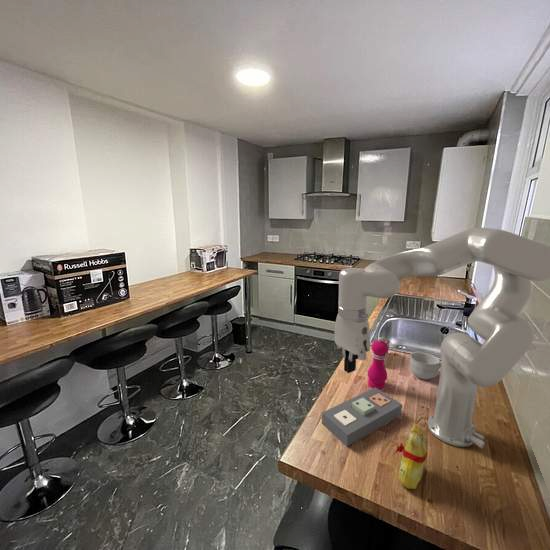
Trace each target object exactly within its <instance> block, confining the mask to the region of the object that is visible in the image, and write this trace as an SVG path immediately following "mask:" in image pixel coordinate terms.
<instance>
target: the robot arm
mask: <svg viewBox="0 0 550 550" xmlns="http://www.w3.org/2000/svg"><path fill="white" fill-rule="evenodd" d="M476 262H480V263H483V264H487V265H490V266H492V267H493V269H494V281H493V284H491V287H490V289H489V290H488V291H487V293H486V294H485V296H484V297H483V298H482V299H481V301H480V302H479V303H478V305H477V306H476V307H475V308H474V309H473V310H472V312H471V313H470V314H469V316H468V318H467V325H468V328H469V329H470V330H471V331H472V332H473V333H474V334H475V335H476V336H478V337H480V338H481V339H483V340H485V341H484V342H483V343H482V342H480V341H478V340H477V339H475V338H474V337H473V336H472V335H471V336H470V335H469V334H466V333H463V332H453V333H450V334H447V336H445V337H444V338H443V340H442V341H441V344H440V350H439V353H440V363H441V367H440V372H441V373H440V375H439V381H438V388H437V396H436V401H435V408H434V414H432V415H431V416H429V418H428V419H427V427H428V429H429V431H430V432H431V434H432V435H433V436H435V437H436V438H437V439H438V440H441V442H444V443H446V444H448V445H450V446H454V447H462V448H463V447H464V448H465V447H466V448H467V447H470V446H472V445H473V444H474V445H476V446H478V447H479V448H480V449H483V448H484V447H485V445H486V441H484V439H485V436H484V435H482V434H480V433H478V432H476V430H475V426H476V425H475V424H473V423H472V421H473V416H474V415H473V414H474V409H475V404H476V398H477V393H478V389H479V388H478V387H481V388H488V387H492V386H495V385H496V384H498V383H499V382H501V381H502V380H503V379H504V378H505V377H506V376H507V375H508V373H510V371H511V370H512V369H513V368H514V366H516V365H517V364H518V363H519V361H520V360H522V359H521V358H523V356H524V355H525V354H526V353H527V352H528V350H530V348H531V346H532V344H533V341H534V336H535V333H534V329H533V327H532V325H531V324H530V322H528V321H527V320H525V319H524V318H523V317H521V316H519V314H520V313H521V312H522V311H523V309H524V307H526V305H527V303H528V302H529V300H530V297H531V293H532V282H531V281H536V282H542V281H548V280H550V245H547V244H544V243H541V242H538V241H536V240H532V239H529V238H528V237H524V236H521V235H519V234H516V233H513V232H510V231H507V230H503V229H498V228H488V227H472V228H468V229H465V230H463V231H460V232H458V233H455V234H453V235H451V236H448V237H446V238H443V239H440V240H439V241H436V242H433V243H432V244H431V243H430V244H428V245H425V246H423V247H418V248H414V249H410V250H407V251H402V252H397V253H394V254H391V255H388V256H385V257H383V258H381V259H378V260H376V261H374V262H371V263H370V264H368V265H367V266H365V268H364V269H362V268H359V267H358V268H357V267H346V268H343V269H342V270H340V272H339V274H338V275H339V276H338V277H339V278H338V311H337V312H338V313H337V314H336V315H337V316H336V319H335V324H334V342H335V345H336V347H337V348H339V349H340V351H341V353H342V358H343V359H344V361H343V362H344V363H343V371H344V372H346V373H347V374H350V373H353V372H355V371H356V370H357V360H362V361H364V360H365V359H367V354H366V352H367V353H368V352H370V351H371V350H370V349H371V332H370V331H371V330H370V325H369V324H370V323H369V319H368V317H369V314H368V313H367V297H371V298H378V299H390V298H393V297H394V296H396V295H397V294H398V293H399V291H400V289H401V287H402V285H401V281H400V279H401V278H406V277H413V276H416V277H417V276H420V277H437V276H438V277H439V276H442V275H444V274H447V273H449V272H452V271H454V270H458V269H460V268H462V267H466V266H467V265H470V264H472V263H476Z"/></svg>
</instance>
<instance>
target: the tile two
mask: <svg viewBox="0 0 550 550" xmlns="http://www.w3.org/2000/svg"><path fill="white" fill-rule="evenodd" d="M352 408H353V409H354V410H356V411H357V412H358V413H359V414H361V415H362V416H363V417H364V416H366V415H368V414H370V413H372V412H374V410H375V406H374V405H373V404H371V403H370V402H368V401H367V400H366V399H364V398H361V399H359V400H357V401H355V402H353V403H352Z"/></svg>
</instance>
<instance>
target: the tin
mask: <svg viewBox="0 0 550 550" xmlns="http://www.w3.org/2000/svg"><path fill="white" fill-rule="evenodd" d="M383 341H384V342H385V343H386V344H387V345H388V352H389V349H390V343H391V342H390V340H389V339H386V338H383ZM388 352H387V353H386V356H387V355H388V354H389V353H388Z"/></svg>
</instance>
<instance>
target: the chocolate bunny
mask: <svg viewBox="0 0 550 550" xmlns="http://www.w3.org/2000/svg"><path fill="white" fill-rule="evenodd" d="M408 434H409V435H408V437H407V440H406V441H405V444H404V445H403V443H400V445H397V446H396V450H395V452H394V453H395V454H396V453H398V452H399V453H402V456H401V462H400V466H399V471H398V477H397V478H398V479H397V480H398V481H399V482H400V484H401V485H402V486H403V487H404V488H406V489H410V490H411V489H413V490H416V488H417V486H418V484H419V483H420V481H421V479H422V476H423V474H424V466H425V461H426V459H427V457H428V451H427V441H426V440H427V439H426V437H425V435H424V433H423V430H422V427H421V426H420V425H419V424H414V425H413V426H412V427H411V428H410V431H409V433H408Z"/></svg>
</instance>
